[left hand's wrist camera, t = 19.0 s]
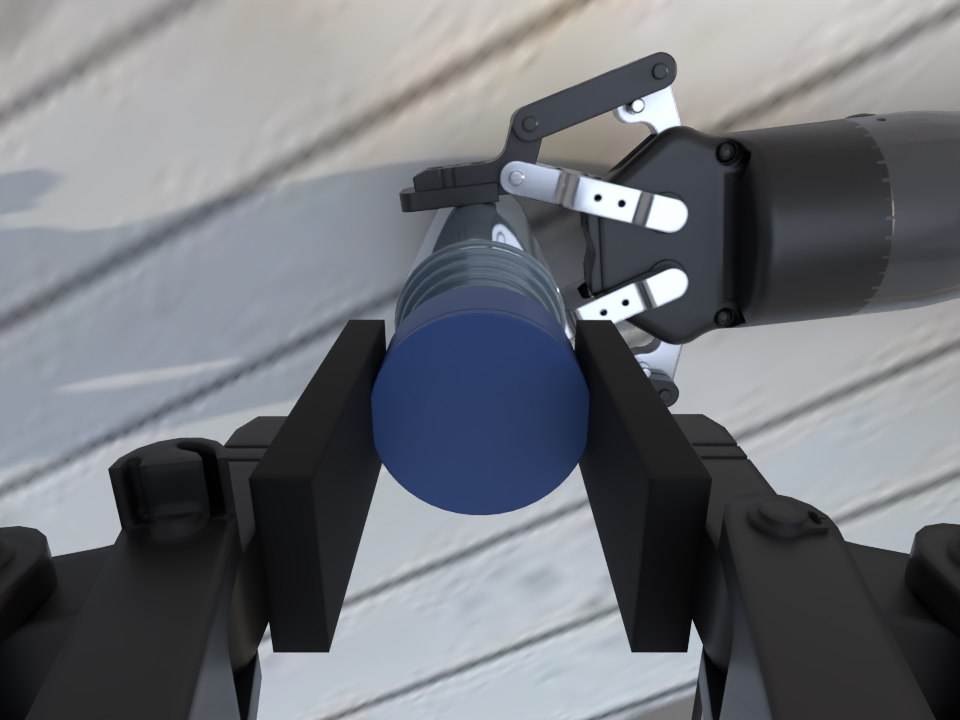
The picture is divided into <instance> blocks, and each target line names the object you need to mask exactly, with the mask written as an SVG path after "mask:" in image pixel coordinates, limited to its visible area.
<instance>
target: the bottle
mask: <svg viewBox="0 0 960 720" xmlns="http://www.w3.org/2000/svg"><path fill="white" fill-rule="evenodd" d="M468 286H493V287H500V288H505V289H508V290H512V291H515V292H517V293H520V294H522V295H524V296H527V297H529V298H530V299H532V300H534V301H535V302H537V303H539V304H540V305H541V306H542V307H544V308H545V309H546V310H547V311H549V312H550V313H551V314H552V316H553V317H554V318H555V319H556V320H557V321H558V322H559V324H560V325H561V326H562V328H563V329H564V331H565V330H566V314H565V307H564V303H563V299H562V296H561V293H560V291H559V288H558V286H557V284H556V282H555V279H554V277H553V275H552V273H551V270H550V268H549V266H548V264H547V262H546V259H545V257H544V255H543V253H542V251H541V248H540V246H539V244H538V242H537V239H536V237H535V235H534V233H533V231H532V228H531V226H530V224H529V222H528V220H527V217H526V215H525V213H524V211H523V209H522V207H521V205H520V204H519V203H518V201H517V200H516V199H515V198H514V197H513V196H512V195H511V194H507V195H499V202H492V203H483V204H472V205H466V206H458V207H449V208H441V209H438V210H437V212H436V214H435V217H434V219H433V221H432V223H431V225H430V228H429V230H428V232H427V234H426V237H425V239H424V241H423V243H422V245H421V248H420V250H419V252H418V254H417V256H416V259H415V261H414V263H413V265H412V268H411V270H410V272H409V274H408V276H407V279H406V281H405V283H404V285H403V287H402V290H401V292H400V295H399V298H398V301H397V306H396V311H395V332H396V330H397V329H398V327H399V326H400V324H401V323H402V322H403V321H404V319H405V318H406V317H407V316H408V315H409V314H410V313H411V312H412V311H413V310H414V309H415V308H417V307H418V306H420V305H421V304H422V303H424V302H425V301H427V300H429V299H430V298H432V297H434V296H436V295H438V294H441V293H443V292H446V291H449V290H452V289H456V288H461V287H468Z"/></svg>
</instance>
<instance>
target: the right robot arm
mask: <svg viewBox="0 0 960 720" xmlns="http://www.w3.org/2000/svg"><path fill="white" fill-rule="evenodd" d="M676 74H677V65H676V62H675V60H674V58H673V57H672V56H671V55H669V54H667V53H664V52H658V53H655V54H652V55H649V56H646V57H644V58H641V59H638V60H636V61H633V62H631V63H628V64H626V65H623V66H621V67H619V68H616V69H614V70H611V71H609V72H606V73H604V74H601V75H599V76H597V77H594V78H592V79H589V80H587V81H584V82H582V83H580V84H577V85H575V86H572V87H570V88H567V89H565V90H563V91H560V92H558V93H555V94H553V95H550V96H548V97H545V98H543V99H541V100H538V101H536V102H533V103H531V104H528V105H526V106H524V107H521V108H519V109H517V110H516V111H515V112H514V113H513V115H512V117H511V120H510V126H509V131H508V135H507V139H506V143H505V147H504V149H503V151H502V152H501V154H500V155H499V156H497V157H496V158H494V159H492V160H489V161H481V162H473V163H464V164H456V165H448V166H439V167H431V168H427V169H425V170H424V171H422V172H420V173H418V174H417V175H415V176H414V177H413V181H414V187H412V188H407V189H403V190H402V191H401V192H400V193H399V194H400V200H401V207H402V212H415V211H424V210H432V209H441V208H449V207H458V206H466V205H472V204H483V203H492V202H499V195H507V194H513V195H517V196H521V197H526V198H530V199H534V200H539V201H543V202H547V203H551V204H555V205H559V206H561V207H564V208H567V209H571V210H576V211H580V215H581V227H582V230H583V233H584V235H585V238H586V241H587V249H586V253H585V258H584V263H583V265H584V279H582V280H580V281H577V282H575V283H573V284H571V285H569V286H567V287H565V288H563V289H562V290H561V291H560V293H561V296H562V299H563V303H564V307H565V314H566V330H565V332H566V334H567V336H568V338H569V339H571V338H574V337H575V334H576V320H612V322H613V323H614V324H616V323H618V322H620V321H622V320H625V321H627V322H629V323H631V324H632V325H634V326H636V327H638V328H639V329H641V330H643V331H645V332H647V333H648V334H650V335H652V336H654V339H653V340H652V342H651V343H649V344H648V345H645V346H640V347H632V348H630V350H631V352H632V353H633V355H634V356H635V358H636V359H637V361H638V363H639V364H640V366H641V367H642V369H643V370H644V372H645V374H646V375H647V377H648V378H649V380H650V381H651V383H652V385H653V386H654V388H655V389H656V391H657V392H658V394H659V396H660V397H661V399H662V400H663V402H664V403H665V405H666V407H670V406H672V405H673V404H674V403H675V402H676V401H677V399H678V396H679V390H678V388H677V386H676V385H675V384H674V381H673V379H674V375H675V371H676V367H677V363H678V360H679V356H680V352H681V348H682V344H686V343H689V342H691V341H693V340H695V339H696V338H698V337H699V336H701V335H703V334H704V333H707V332H709V331H712V330H715V329H720V328H739V327H750V326H759V325H768V324H777V323H786V322H796V321H805V320H814V319H822V318H832V317H842V316H851V315H860V314H869V313H878V312H887V311H897V310H905V309H911V308H917V307H923V306H927V305H932V304H936V303H940V302H944V301H948V300H952V299H956V298H960V111H959V112H945V111H909V112H898V113H890V114H881V115H875V114H858V115H853V116H850V117H847V118H845V119H840V120H831V121H823V122H815V123H807V124H799V125H791V126H782V127H774V128H765V129H757V130H749V131H740V132H732V133H723V134H713V135H708V134H704V133H701V132H699V131H697V130H695V129H693V128H690V127H687V126H681V122H680V118H679V114H678V110H677V106H676V103H675V99H674V95H673V91H672V87H671V84H672V82H673V81H674V79H675V77H676ZM611 110H612V111H613V114H614V116H615V118H616V119H617V120H618V121H620V122H622V123H629V124H634V123H639V122H641V123H643V124H645V125H646V126H648V128H649V129H650V131H651V134H650V135H649V136H648V137H647V138H646V139H645V140H644V141H643V142H642V143H640V144H639V145H638V146H637V147H636V148H635V149H634V150H633V151H631V152H630V153H629V154H628V155H627V156H626V157H625V158H624V159H623V160H621V161H620V162H619V163H618V164H617V165H616V166H615V167H614V168H613V169H611V170H610V171H609V172H608V173H607V174H606V175H605V176H604V177H601V176H597V175H592V174H588V173H584V172H580V171H575V170H571V169H567V168H562V167H556V166H552V165H548V164H543V163H539V162H536V161H537V157H538V153H539V149H540V145H541V141H542V138H544V137H546V136H548V135H551V134H553V133H556V132H558V131H561V130H563V129H566V128H568V127H571V126H573V125H576V124H578V123H581V122H583V121H586V120H588V119H591V118H593V117H596V116H598V115H601V114H603V113H606V112H608V111H611ZM589 292H591V293H589ZM602 310H604V311H603V312H601V311H602ZM574 352H575V350H574Z"/></svg>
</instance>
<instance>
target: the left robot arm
mask: <svg viewBox="0 0 960 720" xmlns="http://www.w3.org/2000/svg"><path fill="white" fill-rule="evenodd" d="M385 354H386V339H385V320H349V321H348V323H347V325H346V326H345V328H344V329H343V331H342V332H341V334H340V336H339V337H338V339H337V340H336V342H335V343H334V345H333V346H332V348H331V350H330V351H329V353H328V354H327V356H326V357H325V359H324V361H323V362H322V364H321V365H320V367H319V368H318V370H317V372H316V373H315V375H314V376H313V378H312V379H311V381H310V383H309V384H308V386H307V387H306V389H305V390H304V392H303V394H302V395H301V397H300V398H299V400H298V401H297V403H296V405H295V406H294V408H293V409H292V411H291V412H290V414H289V416H258V417H257V418H255V419H253V420H252V421H250V422H248V423H247V424H245V425H243V426H242V427H240V428H238V429H237V430H236V431H235V432H234V433H233V435H232V436H231V437H230V438H229V440H228V441H227V442H226V444H225V445H224V446H223V445H221V444H220V443H219V442H217V441H214V440H209V439H205V438H177V439H171V440H165V441H159V442H156V443H153V444H150V445H147V446H144V447H141V448H138V449H136V450H134V451H132V452H130V453H128V454H126V455H124V456H123V457H121V458H119V459H118V460H117V461H116V462H115V463H114V464H113V465H112V466H111V467H110V468H109V469H108V470H109V475H110V479H111V483H112V488H113V492H114V496H115V501H116V505H117V509H118V514H119V518H120V522H121V527H122V530H121V532H120V534H119V536H118V538H117V540H116V542H115V544H114V545H110V546H106V547H102V548H97V549H92V550H86V551H81V552H76V553H70V554H65V555H60V556H55V557H52V556H51V552H50V549H49V545H48V542H47V538H46V536H45V535H44V534H42V533H41V532H40V531H39V530H37V529H34V528H28V527H21V526H14V527H3V528H0V720H256V719H257V711H258V703H259V695H260V687H261V679H262V676H261V669H260V662H259V655H258V646H259V644H260V642H261V639H262V637H263V634H264V632H265V630H266V627H267V625H268V622H269V625H270V631H271V638H272V645H273V652H329V650H330V647H331V643H332V640H333V636H334V633H335V629H336V626H337V622H338V618H339V615H340V611H341V608H342V604H343V601H344V597H345V593H346V590H347V586H348V583H349V579H350V576H351V572H352V568H353V565H354V561H355V558H356V554H357V551H358V547H359V544H360V540H361V536H362V533H363V529H364V526H365V522H366V519H367V515H368V511H369V508H370V504H371V501H372V497H373V494H374V490H375V487H376V483H377V479H378V476H379V472H380V469H381V465H382V461H381V459H380V457H379V455H378V453H377V451H376V449H375V446H374V435H373V419H372V404H371V392H372V388H373V384H374V382H375V379H376V377H377V374H378V372H379V369H380V367H381V364H382V361H383V359H384V356H385ZM575 354H576V357H577V360H578V362H579V365H580V367H581V370H582V372H583V375H584V377H585V380H586V383H587V386H588V388H589V393H590V399H589V415H588V431H587V444H586V448H585V450H584V453H583V455H582V457H581V458H580V460H579V462H578V463H579V466H580V470H581V473H582V477H583V480H584V484H585V488H586V491H587V495H588V498H589V502H590V505H591V509H592V513H593V516H594V520H595V523H596V527H597V530H598V534H599V537H600V541H601V545H602V548H603V552H604V555H605V559H606V562H607V566H608V570H609V573H610V577H611V580H612V584H613V587H614V591H615V594H616V598H617V602H618V605H619V609H620V612H621V616H622V619H623V623H624V626H625V630H626V634H627V637H628V641H629V644H630V648H631V651H632V652H687V650H688V643H689V637H690V630H691V623H692V620H693V622H694V624H695V627H696V629H697V632H698V634H699V636H700V639H701V641H702V643H703V649H702V655H701V662H700V668H699V675H698V681H697V688H696V694H695V701H694V707H693V714H692V720H701V716H702V710H703V717H704V720H960V525H958V524H947V523H941V524H934V525H928V526H925V527H923V528H922V529H921V530H919V531H918V532H917V533H916V534H915V538H914V541H913V545H912V548H911V552H910V554H906V553H901V552H895V551H890V550H885V549H879V548H874V547H869V546H863V545H859V544H855V543H851V542H847V541H845V540H844V539H843V537H842V535H841V533H840V531H839V529H838V527H837V526H836V525H835V524H834V523H833V521H832V520H831V519H830V518H829V517H828V516H827V515H826V514H824V513H823V512H821V511H819V510H818V509H816V508H815V507H813V506H812V505H810V504H807V503H804V502H802V501H799V500H797V499H794V498H792V497H787V496H782V495H777V494H776V492H775V491H774V490H773V489H772V487H771V486H770V485H769V483H768V482H767V481H766V480H765V478H764V477H763V476H762V474H761V473H760V472H759V471H758V469H757V468H756V467H755V466H754V464H753V463H752V462H751V460H750V459H747V455H746V454H745V453H744V451H743V450H742V449H741V448H740V446H737V442H736V441H735V440H734V439H733V437H732V436H731V435H730V434H729V432H728V431H727V430H726V428H725V427H723V426H721V425H720V424H718V423H716V422H715V421H713V420H711V419H710V418H708V417H706V416H705V415H703V414H671V413H670V411H669V410H668V408H667V407H666V405H665V403H664V402H663V400H662V399H661V397H660V396H659V394H658V392H657V391H656V389H655V388H654V386H653V385H652V383H651V381H650V380H649V378H648V377H647V375H646V374H645V372H644V370H643V369H642V367H641V366H640V364H639V363H638V361H637V359H636V358H635V356H634V355H633V353H632V352H631V350H630V348H629V347H628V345H627V344H626V342H625V341H624V339H623V337H622V336H621V334H620V333H619V331H618V330H617V328H616V326H615V325H614V323H613V322H612V320H576V334H575Z"/></svg>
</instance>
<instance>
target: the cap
mask: <svg viewBox="0 0 960 720" xmlns="http://www.w3.org/2000/svg"><path fill="white" fill-rule="evenodd" d="M589 399H590V393H589V388H588V386H587V383H586V380H585V377H584V375H583V372H582V370H581V367H580V365H579V362H578V360H577V357H576V354H575V352H574V349H573V347H572V344H571V342H570V340H569V338H568V336H567V334H566V332H565V331H564V329H563V328H562V326H561V325H560V324H559V322H558V321H557V320H556V319H555V318H554V317H553V316H552V314H551V313H550V312H549V311H547V310H546V309H545V308H544V307H542V306H541V305H540V304H539V303H537V302H535V301H534V300H532V299H530V298H529V297H527V296H524V295H522V294H520V293H517V292H515V291H512V290H508V289H505V288H500V287H493V286H468V287H461V288H456V289H452V290H449V291H446V292H443V293H441V294H438V295H436V296H434V297H432V298H430V299H429V300H427V301H425V302H424V303H422V304H421V305H420V306H418V307H417V308H415V309H414V310H413V311H412V312H411V313H410V314H409V315H408V316H407V317H406V318H405V319H404V321H403V322H402V323H401V324H400V326H399V327H398V329H397V330H396V332H395V334H394V335H393V337H392V339H391V342H390V344H389V346H388V349H387V351H386V354H385V356H384V359H383V361H382V364H381V367H380V369H379V372H378V374H377V377H376V379H375V382H374V384H373V388H372V392H371V404H372V419H373V435H374V446H375V449H376V451H377V453H378V455H379V457H380V459H381V461H382V463H383V464H384V466H385V467H386V468H387V470H388V471H389V473H390V474H391V475H392V476H393V477H394V478H395V480H396V481H397V482H398V483H399V484H400V485H402V486H403V487H404V488H405V489H406V490H407V491H408V492H410V493H411V494H413V495H414V496H416V497H417V498H419V499H421V500H423V501H425V502H427V503H428V504H430V505H433V506H435V507H438V508H441V509H443V510H447V511H451V512H455V513H460V514H468V515H492V514H500V513H505V512H510V511H514V510H517V509H520V508H523V507H526V506H528V505H530V504H532V503H534V502H536V501H538V500H540V499H542V498H543V497H545V496H546V495H548V494H549V493H551V492H552V491H553V490H554V489H556V488H557V487H558V486H559V485H560V484H561V483H562V482H563V481H564V480H565V479H566V478H567V477H568V476H569V475H570V473H571V472H572V471H573V469H574V468H575V467H576V465H577V464H578V462H579V460H580V458H581V457H582V455H583V453H584V450H585V448H586V444H587V431H588V415H589Z"/></svg>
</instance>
